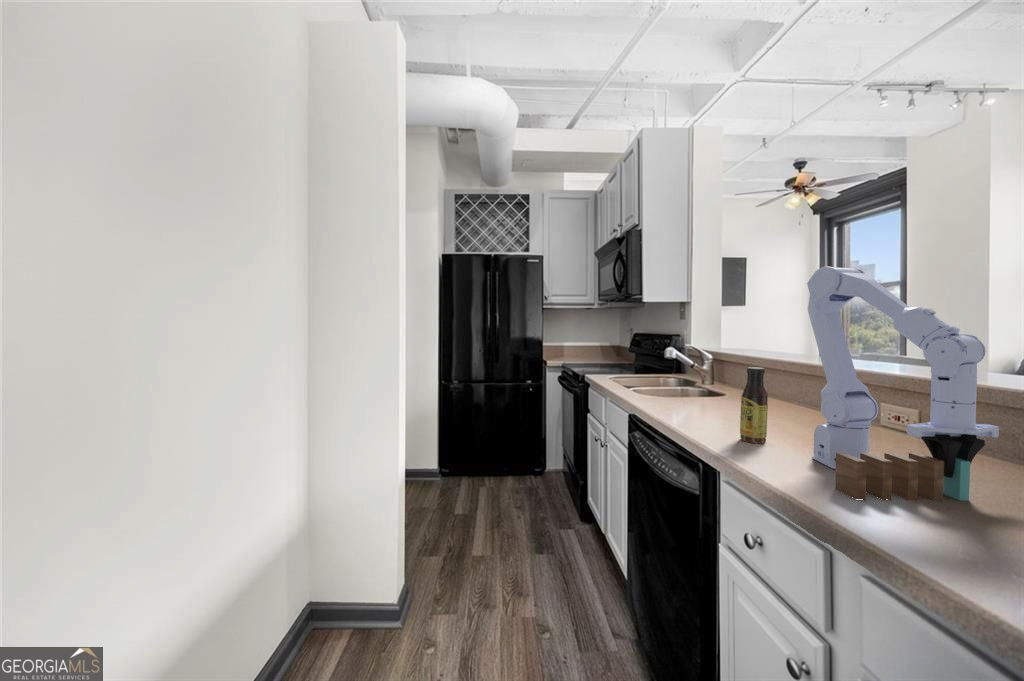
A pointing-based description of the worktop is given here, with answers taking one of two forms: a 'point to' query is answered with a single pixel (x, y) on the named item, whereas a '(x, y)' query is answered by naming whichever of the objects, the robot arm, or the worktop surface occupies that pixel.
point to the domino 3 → (903, 476)
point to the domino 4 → (929, 476)
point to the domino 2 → (878, 476)
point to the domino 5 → (958, 481)
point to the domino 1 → (850, 476)
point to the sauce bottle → (754, 408)
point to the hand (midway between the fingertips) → (951, 475)
